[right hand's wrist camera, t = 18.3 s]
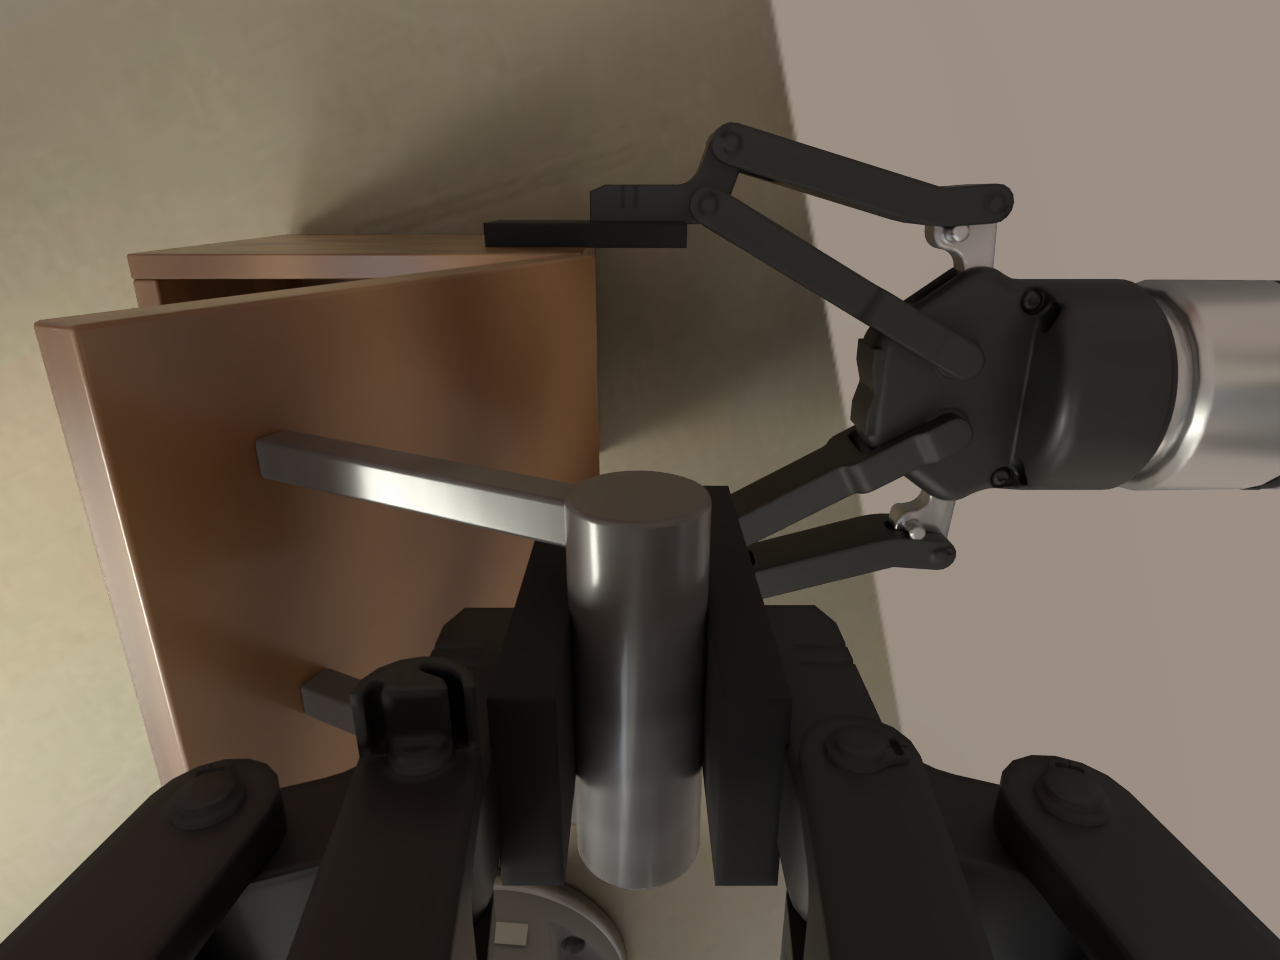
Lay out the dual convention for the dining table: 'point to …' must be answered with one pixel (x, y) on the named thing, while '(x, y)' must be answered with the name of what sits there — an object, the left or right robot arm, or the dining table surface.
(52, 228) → the dining table surface
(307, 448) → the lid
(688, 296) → the dining table surface
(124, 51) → the dining table surface
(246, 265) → the wooden box
